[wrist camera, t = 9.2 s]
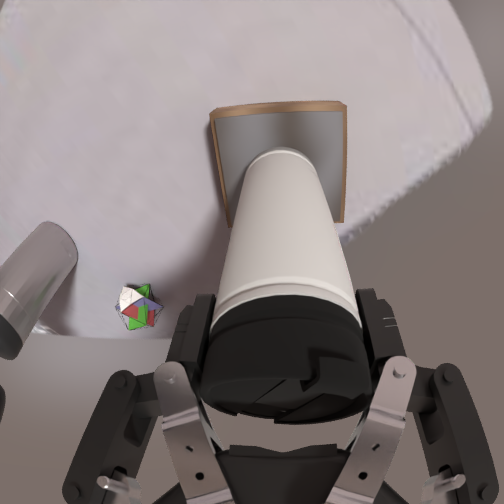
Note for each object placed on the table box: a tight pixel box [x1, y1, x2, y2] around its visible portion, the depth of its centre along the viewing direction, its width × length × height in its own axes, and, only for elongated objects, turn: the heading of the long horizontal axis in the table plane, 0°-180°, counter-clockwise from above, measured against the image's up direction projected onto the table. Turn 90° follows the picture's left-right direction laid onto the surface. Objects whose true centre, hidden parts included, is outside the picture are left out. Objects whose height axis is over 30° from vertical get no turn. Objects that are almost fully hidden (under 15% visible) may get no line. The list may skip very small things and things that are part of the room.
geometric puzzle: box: [115, 283, 164, 331], centre depth 40 cm, size 7×7×8 cm
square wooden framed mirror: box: [209, 101, 347, 228], centre depth 27 cm, size 12×12×4 cm
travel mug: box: [199, 147, 374, 425], centre depth 16 cm, size 6×7×20 cm
